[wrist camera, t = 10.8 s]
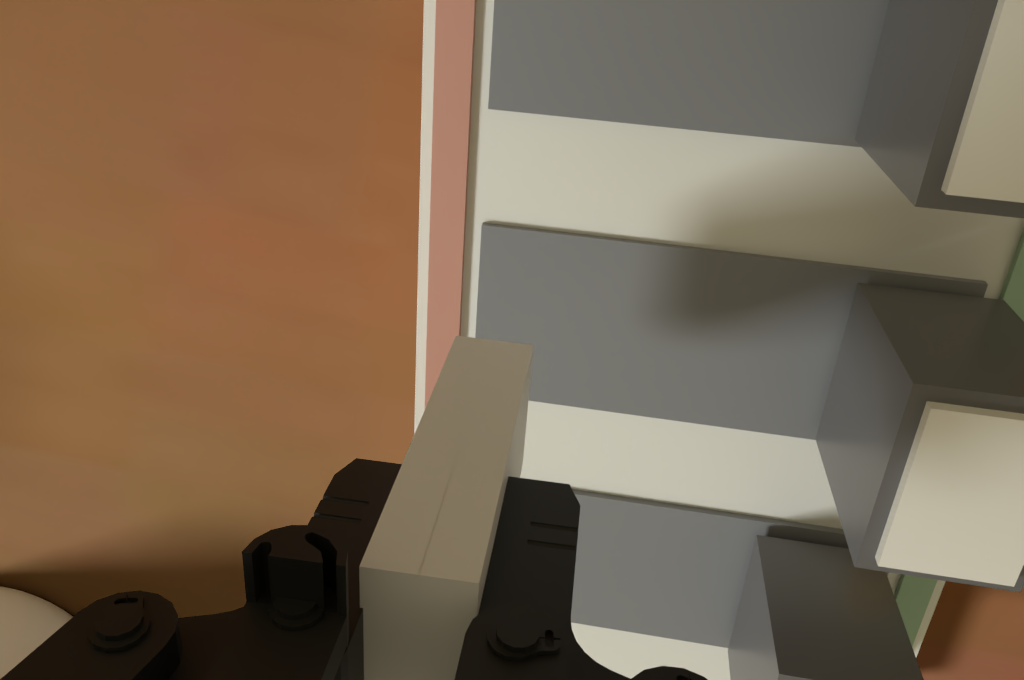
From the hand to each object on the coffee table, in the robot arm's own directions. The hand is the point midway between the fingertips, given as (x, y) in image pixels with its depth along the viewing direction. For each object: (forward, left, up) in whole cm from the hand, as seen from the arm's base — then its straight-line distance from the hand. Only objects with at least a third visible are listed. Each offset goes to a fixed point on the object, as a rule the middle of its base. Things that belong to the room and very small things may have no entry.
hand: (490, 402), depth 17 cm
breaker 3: (+8, -7, -4) cm, 11 cm away
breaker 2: (+9, 0, -4) cm, 10 cm away
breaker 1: (+8, +7, -4) cm, 11 cm away
